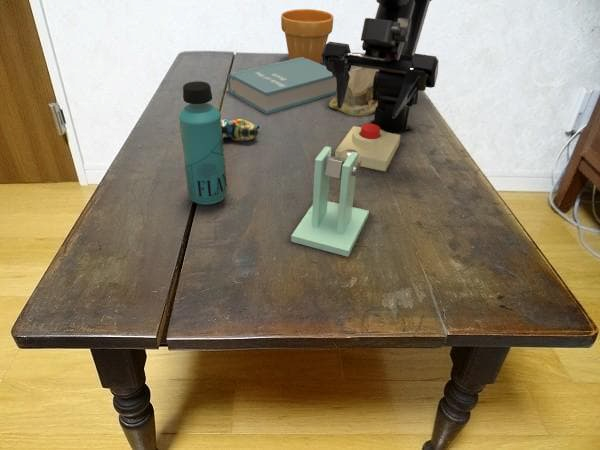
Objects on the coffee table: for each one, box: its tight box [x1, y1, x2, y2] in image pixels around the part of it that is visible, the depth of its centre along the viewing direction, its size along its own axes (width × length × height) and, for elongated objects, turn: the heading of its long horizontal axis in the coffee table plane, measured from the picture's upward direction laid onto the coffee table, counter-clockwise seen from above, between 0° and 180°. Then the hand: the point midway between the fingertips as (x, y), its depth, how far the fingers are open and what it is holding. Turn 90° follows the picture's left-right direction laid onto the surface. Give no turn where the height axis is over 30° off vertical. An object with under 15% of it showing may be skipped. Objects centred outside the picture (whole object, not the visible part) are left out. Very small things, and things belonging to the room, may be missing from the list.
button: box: [360, 123, 380, 139], centre depth 93 cm, size 4×4×2 cm
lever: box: [325, 149, 361, 179], centre depth 73 cm, size 11×4×4 cm, turn 158°
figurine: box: [221, 118, 260, 142], centre depth 99 cm, size 10×4×15 cm
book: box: [227, 57, 337, 115], centre depth 119 cm, size 23×16×5 cm
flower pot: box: [280, 8, 334, 65], centre depth 135 cm, size 14×14×13 cm
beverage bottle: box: [177, 80, 228, 206], centre depth 74 cm, size 6×7×20 cm
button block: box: [334, 125, 402, 172], centre depth 95 cm, size 12×10×4 cm
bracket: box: [290, 145, 370, 258], centre depth 71 cm, size 11×9×13 cm
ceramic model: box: [328, 66, 379, 117], centre depth 112 cm, size 14×11×10 cm
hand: (365, 112), depth 79 cm, fingers open, 9 cm apart
